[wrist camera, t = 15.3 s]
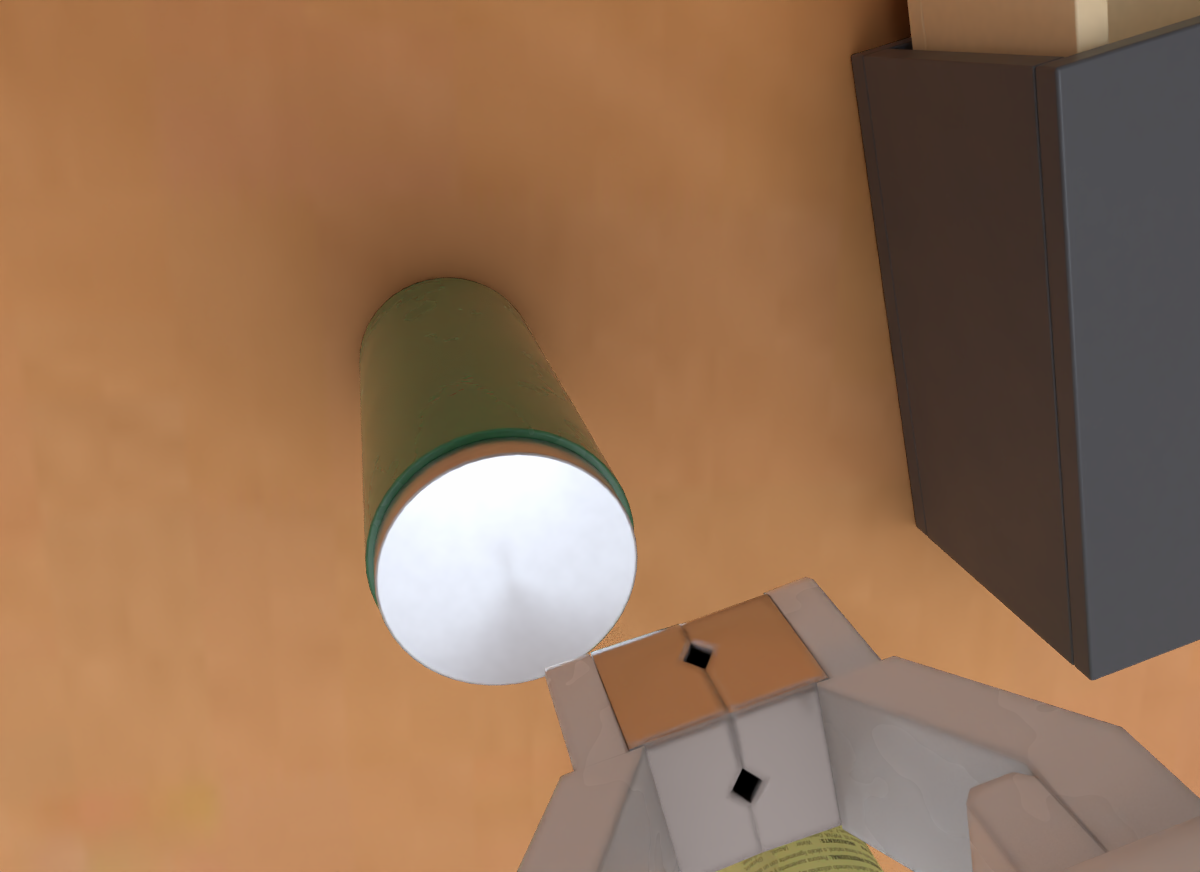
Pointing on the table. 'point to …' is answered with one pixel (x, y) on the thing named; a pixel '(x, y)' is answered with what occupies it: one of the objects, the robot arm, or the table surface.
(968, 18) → the drawer
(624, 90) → the table surface
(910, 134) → the cabinet
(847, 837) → the tube
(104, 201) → the table surface
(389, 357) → the can
